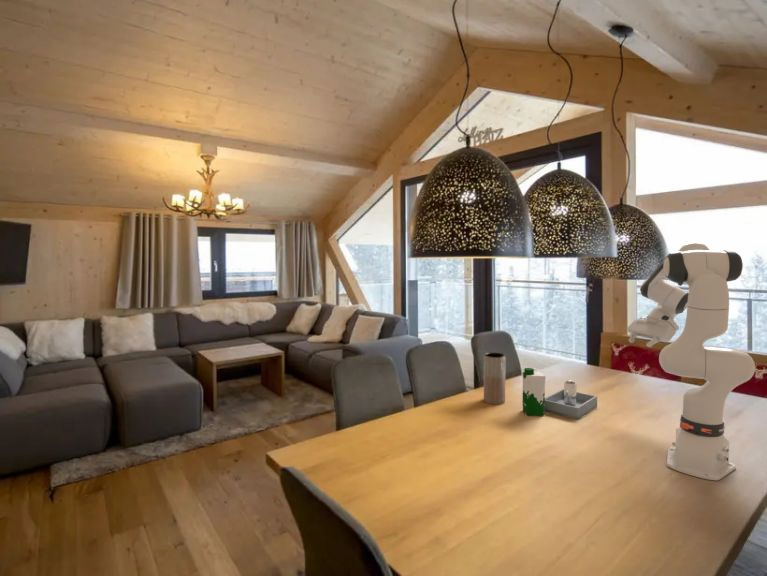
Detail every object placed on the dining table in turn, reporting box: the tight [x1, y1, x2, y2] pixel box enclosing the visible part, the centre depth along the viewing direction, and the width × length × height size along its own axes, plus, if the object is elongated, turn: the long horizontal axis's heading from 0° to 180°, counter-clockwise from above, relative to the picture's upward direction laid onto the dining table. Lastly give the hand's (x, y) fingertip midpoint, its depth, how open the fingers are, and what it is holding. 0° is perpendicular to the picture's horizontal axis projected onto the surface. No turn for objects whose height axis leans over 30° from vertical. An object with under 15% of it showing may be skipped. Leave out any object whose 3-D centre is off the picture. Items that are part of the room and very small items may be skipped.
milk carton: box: [522, 367, 546, 417], centre depth 191 cm, size 9×9×20 cm
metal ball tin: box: [563, 379, 578, 407], centre depth 197 cm, size 5×5×12 cm
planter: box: [483, 352, 507, 405], centre depth 208 cm, size 10×10×23 cm
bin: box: [544, 388, 598, 420], centre depth 197 cm, size 22×16×5 cm
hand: (639, 343), depth 187 cm, fingers open, 8 cm apart
